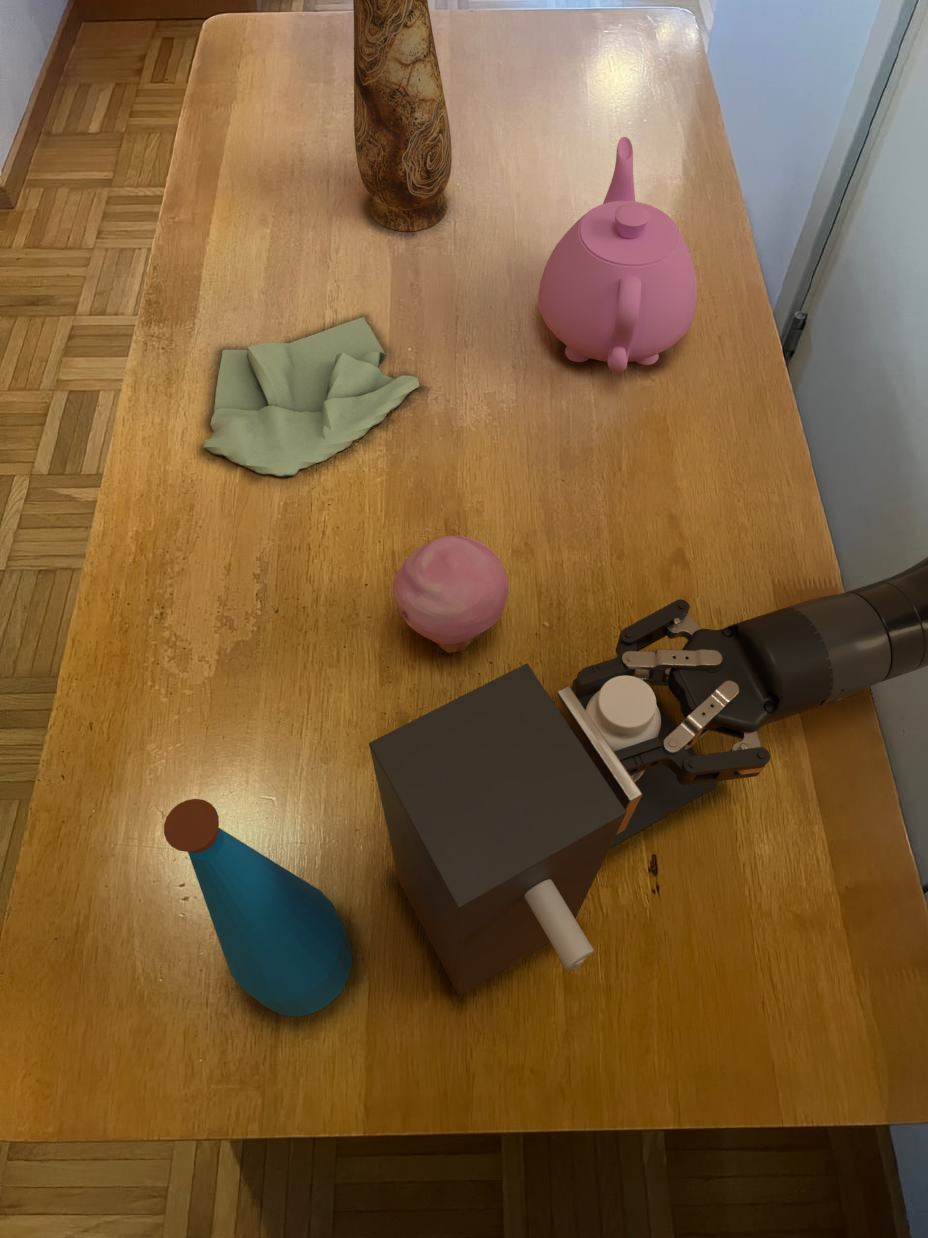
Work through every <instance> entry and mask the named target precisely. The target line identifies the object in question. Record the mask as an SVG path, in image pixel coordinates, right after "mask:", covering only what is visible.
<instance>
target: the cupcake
mask: <svg viewBox="0 0 928 1238" xmlns="http://www.w3.org/2000/svg"><path fill="white" fill-rule="evenodd" d="M395 574H396V575H395V577H394V580H393V587H392V590H393V591H392V592H393V598H394V603H395V605H396V608H397V610H398V612H399V613H400V616H401V617H402V618H403V619H404V621H405V623H406V624H407V625H408V626H409V627H410V628H411V629H412V630H413V631H415V632H416V633H417V634H419V635H420V636H421V637H424V638H426V639H428V640H430V641H432V642H433V643H435V644H437V646H438V647H439V648H441V649H442V650H443V651H445V652H446V653H448V654H451V653H455V652H456V653H458V652H462V651H463V652H464V651H465V650H466V649H467V647H468V646H470V644H472V643H473V642H475V641H477V640H478V639H479V638H480V637H481V636H482V635H483V633H484V632H486V631H487V630H488V629H490V628H492V627H493V626H495V624H497V622H498V621H499V620H500V618H501V616H502V614H503V612H504V609H505V607H506V603H507V601H508V596H509V581H508V576H507V574H506V571H505V568H504V565H503V563H502V561H501V560H500V558H499V557H498V555H497V554H496V552H494V551H493V550H492V549H491V548H490V547H488V546H487V545H486V544H484V543H483V542H481V541H479V540H478V539H475V538H472V537H468V536H464V535H446V536H445V535H444V536H440V537H438V538H435V539H432V540H431V541H428V542H427V543H425V544H423V545H421V546H419V547H418V548H417V549H415V550H414V551H413V552H412V553H411V554H410V555H409V556H408V557H407V558H406V559H405V560H404V561H403V563H401V564H400V566H399V568H398V570H397V572H396V573H395Z"/></svg>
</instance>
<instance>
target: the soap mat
mask: <svg viewBox="0 0 928 1238" xmlns="http://www.w3.org/2000/svg"><path fill="white" fill-rule="evenodd" d="M593 696H594V694H591V695H588V696H585V697H582V698H578V700H579V702H580V703H581V704H582V706H583V707H584V709H585V710H586V707H587V705H588V703H589V701H590V699H591V698H592V697H593ZM553 702H554V703H555V700H554V701H553ZM656 705H657V707H658V709H659V712H660V716H661V727H660V731H659V735H658V739H659V741H660V740H663V739H665V738H666V737H667V736H668V735H669V734H671V733H672V732H673V731H674V730H675V729H676V728H677V727H676V725H675V724H674V722H673V721H672V720H671V718H670V717H669V715H668V714H667V713H666V712H665V709H663V707H662V706H661V705H660V703H659V702H658V700H656ZM686 751H687V752H688V753H689V754H690V755H691V756H695V755H697V754H696V753H695V751H694V750H693V749H692V747H690V748H688V749H687V750H686ZM635 784H636V785H637V787H638V788H639V790H640V791H641V792H642V796H641V798H640V800H639V802H638V804H637V806H636V808H635V810H634V812H633V814H632V816H631V818H630V820H629V822H628V824H627V826H626V828H625V830H624V831H622V832H621V833H619V834H617V835H616V836H615V838H614V840H613V842H612V844H611V846H610V848H609V850H610V849H612V848H614V847H616V846H618V845H620V844H621V843H623V842H624V841H626V840H628V839H630V838H631V837H633V836H635V835H636V834H638V833H640V832H642V831H644V830H646V829H647V828H648V827H650V826H653V825H654V824H656V823H657V822H660V821H661V820H662V819H665V818H666V817H668V816H669V815H671V814H673V813H675V812H676V811H678V810H680V809H681V808H683V807H685V806H687V805H689V804H690V803H692V802H694V801H696V800H697V799H699V798H701V797H703V796H704V795H706V794H708V793H709V792H712V791H713V790H715V789H716V788H717V786H718V782H709V783H701V784H694V785H682V784H680V783H679V782H678V780H677V777H676V774H675V773H674V772H673V771H672V770H671V769H670V768H668V767H667V766H664V765H659V766H655V767H653V768H650V769H647V770H645V771H644V773H643V774H642V776H641V777H640V778H639V779H638V780H637V781H635Z"/></svg>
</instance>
